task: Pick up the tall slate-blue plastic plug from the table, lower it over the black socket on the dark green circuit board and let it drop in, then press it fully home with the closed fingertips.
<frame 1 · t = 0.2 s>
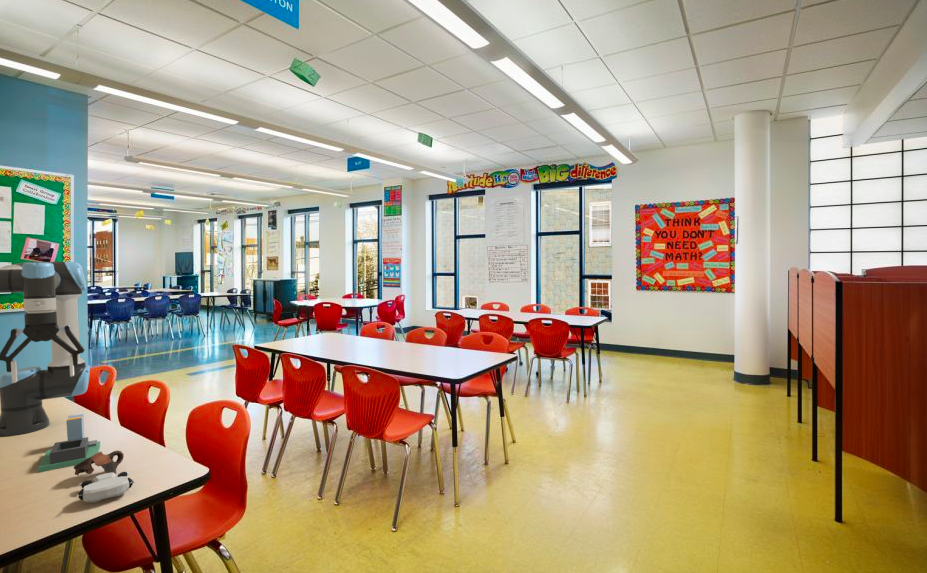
hand: (44, 378, 147), 27 cm above the table, tool pointing down, fingers open, 13 cm apart
robot toy: (106, 494, 128), on the table
circuit board: (71, 457, 152), on the table
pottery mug: (101, 476, 139), on the table
plug: (76, 444, 164), on the table
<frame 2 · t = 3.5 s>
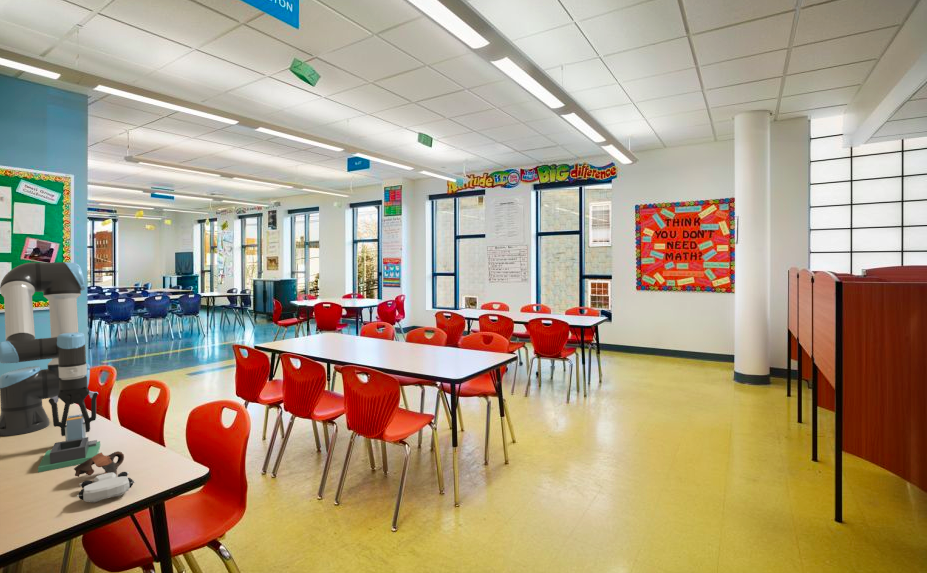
hand: (76, 442, 164), 1 cm above the table, tool pointing down, fingers closed on plug, 4 cm apart
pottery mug: (101, 477, 138), on the table
plug: (76, 444, 164), on the table, touching gripper
everything else where it was.
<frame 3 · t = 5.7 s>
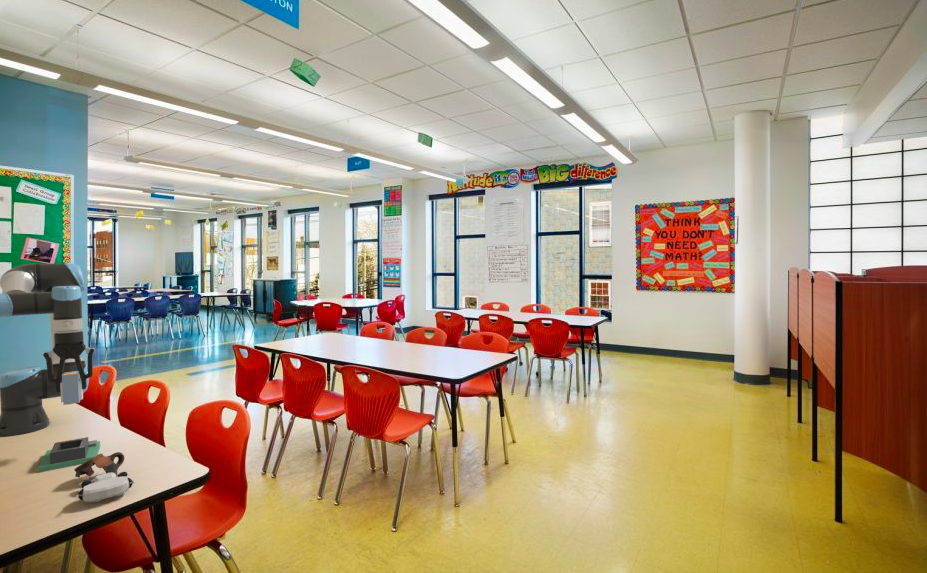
hand: (72, 399, 158), 17 cm above the table, tool pointing down, fingers closed on plug, 4 cm apart
plug: (72, 401, 158), point 17 cm above the table, touching gripper
when the fingers open (7 cm above the table, at t = 8.3 s): plug drops 5 cm, resting on circuit board.
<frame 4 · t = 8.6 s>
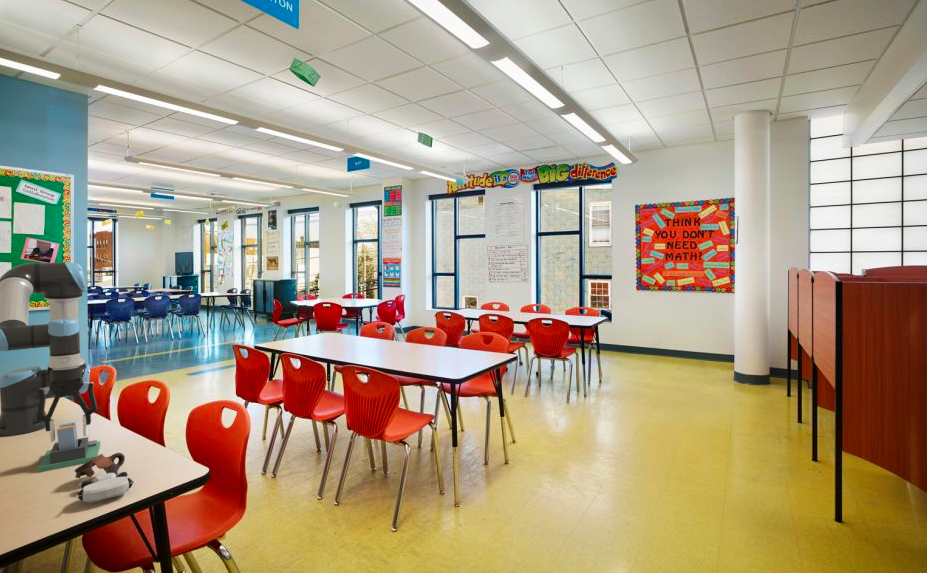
hand: (69, 437, 150), 7 cm above the table, tool pointing down, fingers open, 7 cm apart
robot toy: (106, 495, 128), on the table, touching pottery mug
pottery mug: (102, 479, 137), on the table, touching robot toy
plug: (69, 455, 150), point 2 cm above the table, touching circuit board
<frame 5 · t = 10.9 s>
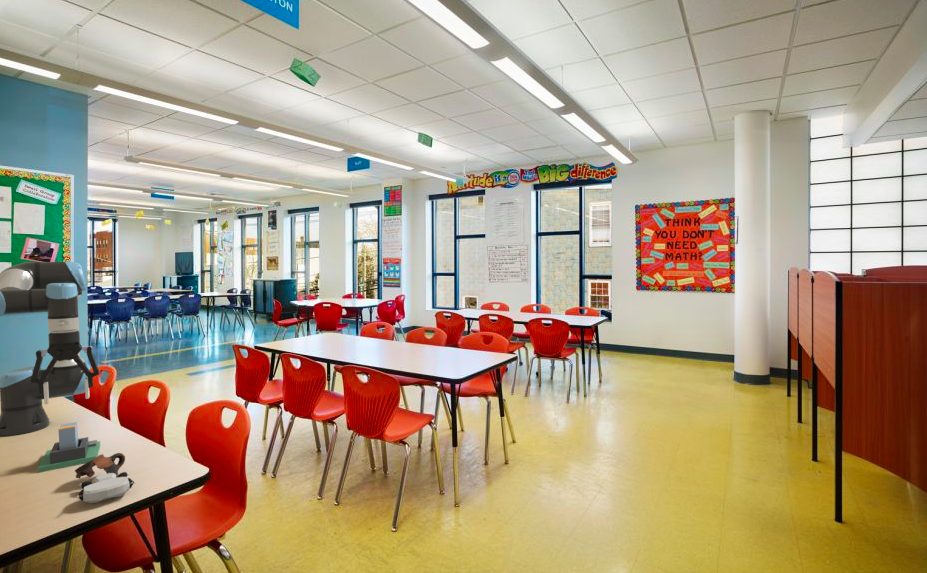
hand: (67, 400, 150), 20 cm above the table, tool pointing down, fingers open, 9 cm apart
robot toy: (106, 495, 128), on the table
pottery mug: (102, 479, 137), on the table
everything else where it was.
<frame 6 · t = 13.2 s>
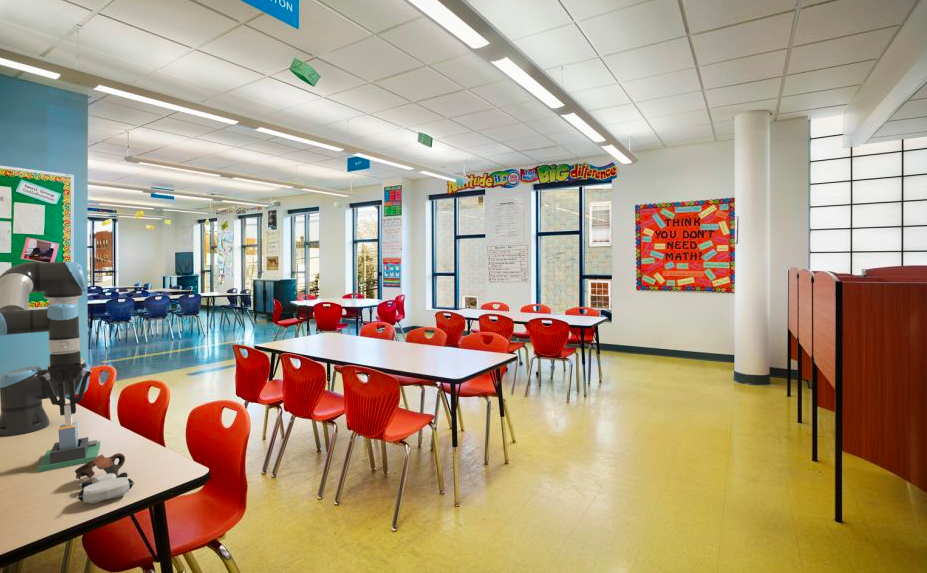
hand: (68, 424, 150), 12 cm above the table, tool pointing down, fingers closed
robot toy: (106, 495, 128), on the table, touching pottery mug
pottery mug: (102, 480, 137), on the table, touching robot toy
plug: (69, 455, 150), point 2 cm above the table, touching circuit board, gripper
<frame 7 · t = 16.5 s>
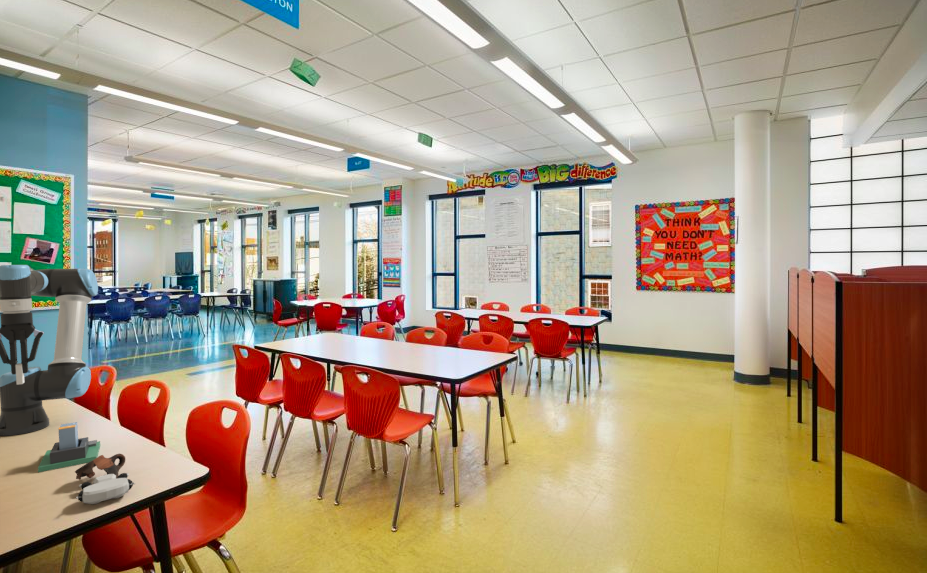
hand: (20, 383, 153), 24 cm above the table, tool pointing down, fingers closed
robot toy: (106, 496, 127), on the table
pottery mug: (103, 480, 137), on the table
plug: (69, 455, 150), point 1 cm above the table, touching circuit board
at the end: plug 0.2 cm from the target spot on the circuit board, point 1.5 cm above the circuit board's base; plug tilted 0°; the gripper is holding nothing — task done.
